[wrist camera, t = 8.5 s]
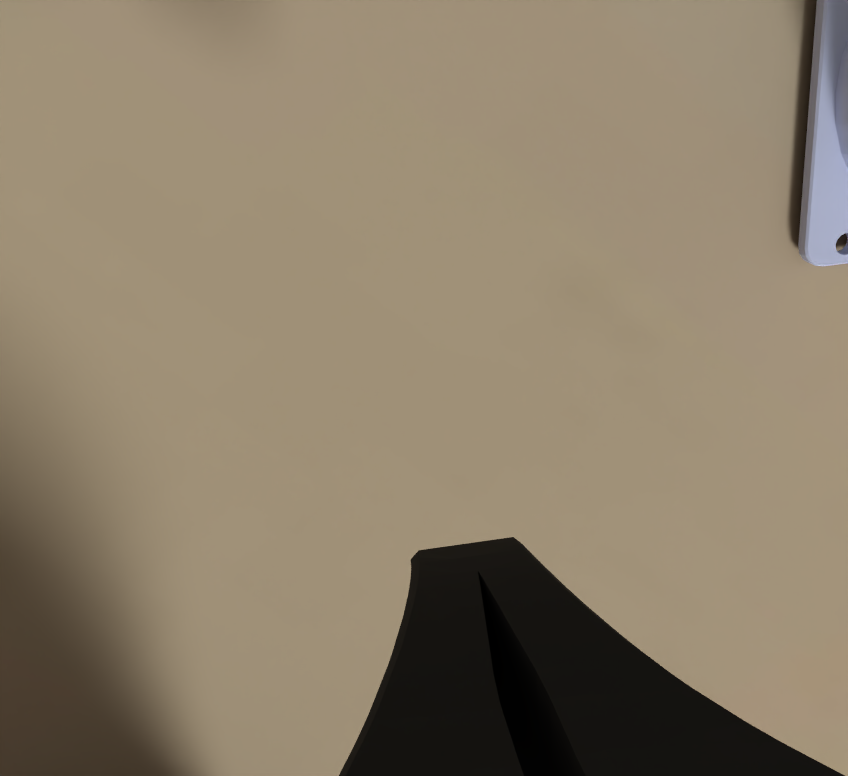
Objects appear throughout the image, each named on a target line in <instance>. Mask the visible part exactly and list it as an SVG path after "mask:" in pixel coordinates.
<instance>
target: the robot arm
mask: <svg viewBox="0 0 848 776" xmlns="http://www.w3.org/2000/svg"><path fill="white" fill-rule="evenodd" d="M845 233H846V234H847V239H848V0H817V5H816V18H815V31H814V44H813V58H812V71H811V84H810V98H809V111H808V124H807V137H806V151H805V164H804V177H803V190H802V204H801V217H800V230H799V243H798V247H799V254H800V255H801V257H802V259H803V260H805V261H807V262H808V263H810V264H813V265H815V266H829V265H838V264H847V263H848V240H847V243H846V245H845V246H844V247H843V249H842V250H839V251H836V246H835V245H836V242H837V239H838V238H839V237H840V236H841V235H843V234H845ZM339 776H844V775H842V774H841V773H839V772H837V771H835V770H833V769H831V768H829V767H827V766H825V765H823V764H822V763H820V762H818V761H816V760H814V759H812V758H810V757H808V756H806V755H805V754H803V753H801V752H799V751H797V750H795V749H793V748H791V747H789V746H787V745H786V744H784V743H782V742H780V741H778V740H776V739H775V738H773V737H771V736H769V735H768V734H766V733H764V732H762V731H761V730H759V729H757V728H755V727H754V726H752V725H750V724H749V723H747V722H745V721H744V720H742V719H740V718H739V717H737V716H736V715H734V714H732V713H731V712H729V711H728V710H726V709H724V708H723V707H721V706H720V705H718V704H717V703H715V702H713V701H712V700H710V699H709V698H707V697H705V696H704V695H702V694H701V693H699V692H697V691H696V690H694V689H693V688H691V687H690V686H688V685H687V684H685V683H684V682H683V681H681V680H680V679H678V678H677V677H675V676H674V675H672V674H671V673H670V672H668V671H667V670H666V669H664V668H663V667H662V666H660V665H659V664H658V663H656V662H655V661H654V660H652V659H651V658H650V657H648V656H647V655H646V654H644V653H643V652H642V651H640V650H639V649H638V648H637V647H635V646H634V645H633V644H632V643H630V642H629V641H628V640H627V639H625V638H624V637H623V636H622V635H620V634H619V633H618V632H617V631H616V630H614V629H613V628H612V627H611V626H610V625H609V624H607V623H606V622H605V621H604V620H603V619H601V618H600V617H599V616H598V615H597V614H596V613H594V612H593V611H592V610H591V609H590V608H589V607H587V606H586V605H585V604H584V603H583V602H582V601H581V600H580V599H578V598H577V597H576V596H575V595H574V594H573V593H572V592H571V591H570V590H569V589H567V588H566V587H565V586H564V585H563V584H562V583H561V582H560V581H559V580H558V579H557V578H556V577H555V576H554V575H553V574H552V573H551V572H550V571H549V570H548V569H547V568H545V567H544V566H543V565H542V564H541V563H540V562H539V561H538V560H537V559H536V558H535V557H534V556H533V555H532V554H531V553H530V552H529V551H528V550H527V548H526V547H525V546H524V545H523V544H521V543H520V542H519V541H518V540H516V539H515V538H514V537H511V538H504V539H497V540H490V541H482V542H475V543H468V544H461V545H454V546H447V547H440V548H433V549H426V550H419V551H418V552H417V553H416V554H415V555H414V556H413V558H412V559H411V581H410V588H409V593H408V598H407V602H406V607H405V611H404V616H403V619H402V622H401V626H400V629H399V632H398V636H397V639H396V642H395V646H394V649H393V652H392V656H391V658H390V661H389V664H388V667H387V669H386V672H385V674H384V677H383V680H382V682H381V685H380V687H379V690H378V692H377V695H376V697H375V700H374V702H373V705H372V707H371V710H370V712H369V715H368V717H367V719H366V721H365V724H364V726H363V728H362V730H361V732H360V735H359V737H358V739H357V741H356V743H355V745H354V747H353V749H352V751H351V753H350V755H349V757H348V759H347V761H346V763H345V765H344V767H343V769H342V771H341V773H340V775H339Z"/></svg>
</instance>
